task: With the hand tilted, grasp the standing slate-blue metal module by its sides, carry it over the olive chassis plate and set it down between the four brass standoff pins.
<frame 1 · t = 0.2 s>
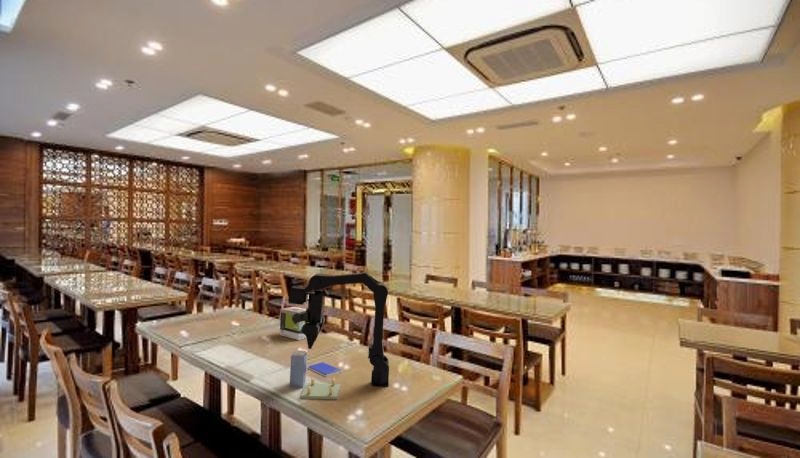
hand: (311, 345, 155), 14 cm above the table, tool pointing down, fingers open, 9 cm apart
module: (297, 384, 151), on the table
chassis: (321, 392, 145), on the table
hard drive: (324, 371, 167), on the table
tea box: (295, 336, 214), on the table
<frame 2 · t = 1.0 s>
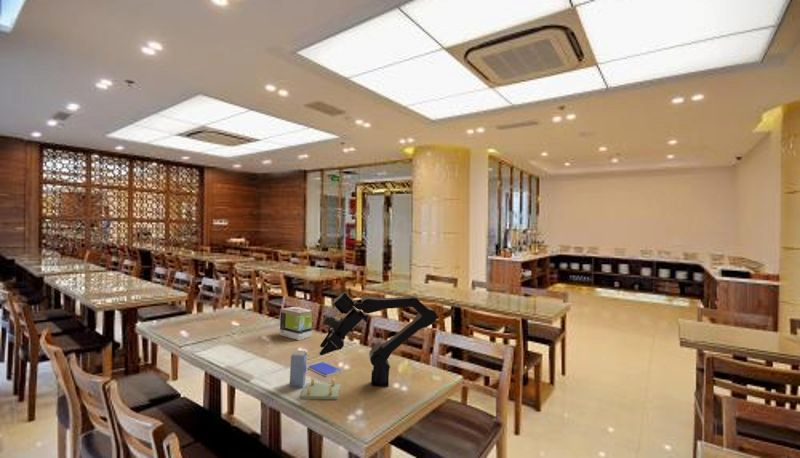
hand: (320, 350, 152), 13 cm above the table, tool tilted 45°, fingers open, 9 cm apart
nothing on the table moved.
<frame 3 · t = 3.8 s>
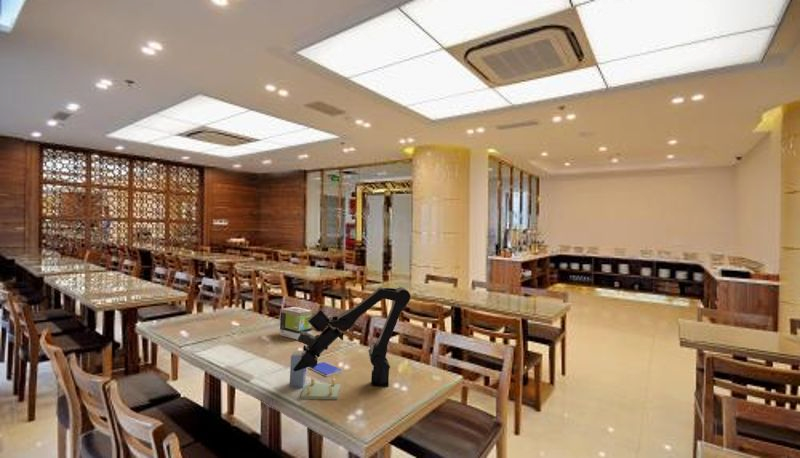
hand: (294, 367, 151), 7 cm above the table, tool tilted 45°, fingers closed on module, 5 cm apart
module: (297, 384, 151), on the table, touching gripper
everything else where it was.
when the fingers open (9 cm above the table, at t = 7.1 s): module drops 2 cm, resting on chassis.
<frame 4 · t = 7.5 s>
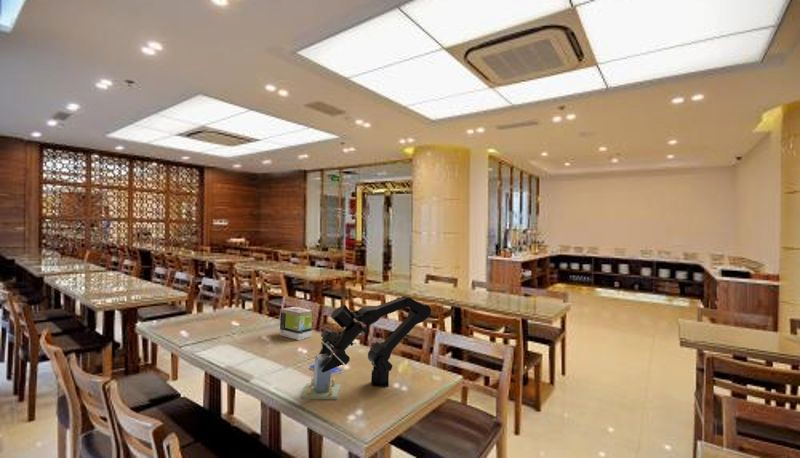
hand: (318, 367, 145), 10 cm above the table, tool tilted 45°, fingers open, 9 cm apart
module: (321, 389, 145), point 1 cm above the table, touching chassis
everything else where it was.
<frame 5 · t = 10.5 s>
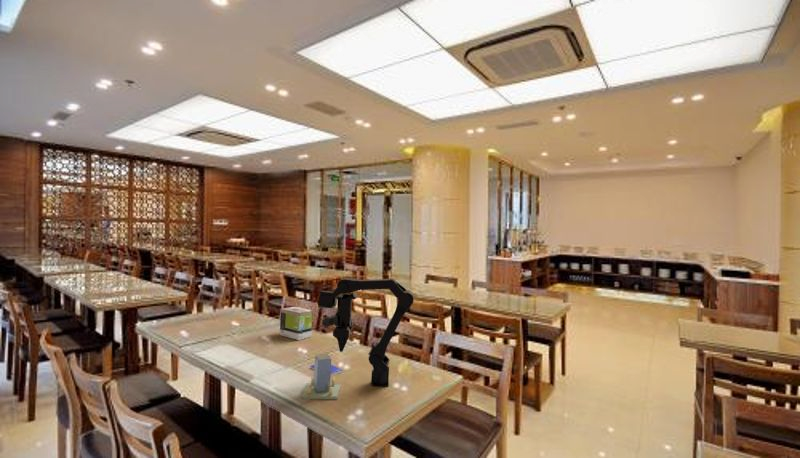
hand: (342, 347, 157), 13 cm above the table, tool pointing down, fingers open, 9 cm apart
nothing on the table moved.
at the end: module 0.1 cm off-centre on the chassis, point 1.0 cm above the chassis's base; module tilted 0°; the gripper is holding nothing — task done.
